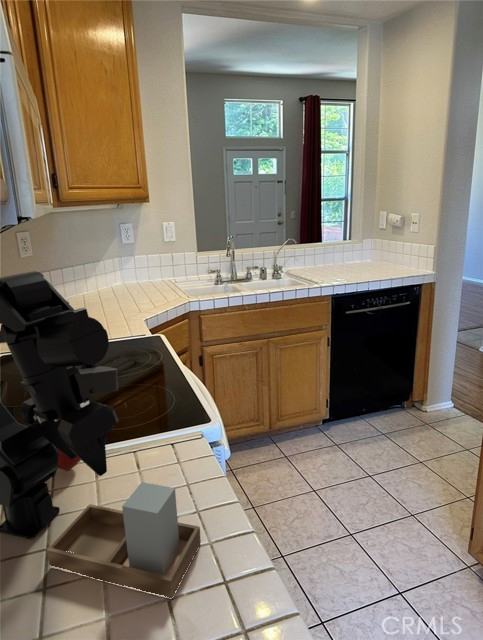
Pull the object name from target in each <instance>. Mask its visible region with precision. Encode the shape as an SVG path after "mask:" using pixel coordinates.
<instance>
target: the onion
mask: <svg viewBox="0 0 483 640" xmlns="http://www.w3.org/2000/svg"><path fill="white" fill-rule="evenodd" d="M56 448H57V447H56ZM57 449H58V448H57ZM58 452H59V460H58V466H57V469H60V470H63V471H67V472H68V471H70V470H72V469H73V468H74V467H75V466H77V465H78V463H80V461H81V459H80V458H79V457H78V456H77V457H75V458H74V459H70V458H69V457H68V456H66V455H65V454H64V453H63V452H62V451H60V450H59V449H58Z"/></svg>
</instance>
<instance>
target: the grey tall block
mask: <svg viewBox="0 0 483 640" xmlns="http://www.w3.org/2000/svg"><path fill="white" fill-rule="evenodd" d="M121 508H122V511H123V518H124V526H125V534H126V543H127V551H128V559H129V567H131V568H135V569H139V570H143V571H147V572H151V573H155V574H159V575H163V576H165V575H166V573H167V571H168V569H169V568H170V566H171V564H172V562H173V560H174V559H175V557H176V555H177V553H178V551H179V550H180V544H179V532H178V522H179V520H178V509H177V498H176V488H175V487H171V486H166V485H165V486H164V485H159V484H154V483H149V482H145V481H142V482H141V483H140V484H138V487H137V488H136V489H135V490H134V491H133V492H132V493H131V494H130V495H129V497H128V498H127V499H126V501H125V502H124V503H123V504H122V505H121Z"/></svg>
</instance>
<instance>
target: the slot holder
mask: <svg viewBox="0 0 483 640" xmlns="http://www.w3.org/2000/svg"><path fill="white" fill-rule="evenodd" d="M200 527H201V526H199V525H198V526H197V525H193V524H190V523H189V524H187V523H183V522H179V521H178V532H179V544H180V550H179V551H178V553H177V555H176V557H175V559H174V560H173V562H172V564H171V566H170V568H169V569H168V571H167V573H166V575H165V576H163V575H159V574H155V573H151V572H147V571H143V570H139V569H135V568H131V567H129V559H128V551H127V543H126V534H125V526H124V518H123V510H121V509H114V508H110V507H105V506H101V505H96V504H93V503H92V504H90V503H89V504H88V505H87V506H86V508H84V510H83V511H82V512H81V513H80V514H79V515H78V516H77V517H76V518H75V519H74V520H73V521H72V522H71V524H70V525H69V526H67V528H66V529H65V530H64V531H63V532H62V533H61V534H60V535H59V537H58V538H56V540H55V541H54V542H53V543H51V545H50V546H49V547H48V548H47V549H46V552H47V558H48V565H49V566H50V565H51V566H55V567H59V568H63V569H67V570H70V571H72V572H76V573H80V574H82V575H86V576H89V577H93V578H95V579H100V580H103V581H107V582H111V583H115V584H119V585H122V586H124V585H125V586H128V587H133V588H136V589H140V590H142V591H146V592H151V593H155V594H159V595H164V596H165V597H166V596H167V597H169V598H172V597H173V596H174V594H175V591H176V590H177V588H178V586H179V583H180V582H181V580H182V577H183V575H184V574H185V572H186V570H187V568H188V566H189V564H190V562H191V561H192V558H193V556H194V555H195V553H196V551H197V549H198V547H199V545H200V543H201V542H202V541H201V540H202V539H201V528H200ZM201 544H202V543H201ZM200 546H201V545H200ZM199 548H200V547H199ZM198 550H199V549H198ZM66 551H67V552H66ZM68 551H69V552H68ZM70 551H71V552H72V553H71V552H70ZM73 552H74V553H73ZM197 552H198V551H197ZM196 554H197V553H196ZM195 556H196V555H195ZM192 562H193V561H192ZM188 569H189V568H188ZM187 571H188V570H187ZM186 573H187V572H186ZM185 575H186V574H185ZM182 581H183V580H182ZM181 583H182V582H181ZM179 587H180V586H179ZM178 589H179V588H178ZM177 591H178V590H177ZM175 595H176V594H175ZM174 597H175V596H174Z"/></svg>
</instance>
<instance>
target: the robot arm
mask: <svg viewBox="0 0 483 640" xmlns="http://www.w3.org/2000/svg"><path fill="white" fill-rule="evenodd" d="M0 324H1V325H0V344H5V343H6V346H7V347H8V349H9V351H10V355H11V356H12V358H13V360H14V362H15V364H16V367H17V368H18V372H19V373H20V375H21V376H20V377H22V381H20V385H21V387H22V389H23V390H25V391H28V392H29V395H30V398H28V399H27V400H25V401H22V404H21V407H20V409H19V412H20V415H21V416H22V419H23V421H24V422H25V423H26V424H29V425H25V424H22V423H19V422H18V421H17V420H16V419H15V417H14V416H13V415H12V414H11V413H10V411H9V410H8V409H7V408H6V406H5V405H4V404H3V402H1V400H0V505H1V506H2V510H3V515H4V518H5V520H4V521H3V522H2V523H1V524H0V532H1V533H3V532H4V533H5V534H7V535H11V536H16V537H20V536H21V537H20V538H24V537H25V538H24V539H28V538H31V539H33V538H35V537H36V536H37V535H38V533H40V532H41V531H42V530H43V528H45V527H46V525H48V524H49V522H50V521H52V520H53V518H55V517H56V515H58V514H59V513H60V512H61V511H60V510H61V509H60V507H59V506H54V505H53V500H52V495H51V493H49V492H50V491H49V486H48V483H47V481H49V480H50V479H52V478H53V477H55V476H56V475H57V471H58V468H57V466H58V460H59V452H58V449H59V450H60V451H62V452H63V453H64V454H65V455H66V456H68V457H69V458H70V459H74V458H75V457H77V456H78V457H79V458H80V461H82V462H83V463H84V464H85V465H86V466H87V467H89V468H90V470H92V471H93V472H94V473H95V474H96V475H98V476H99V477H102V476H103V475H105V474H107V472H108V469H107V467H108V466H107V465H108V464H107V453H106V450H107V449H106V438H107V435H108V433H109V432H110V431H112V430H113V428H115V425H117V424H118V423H119V421H120V420H119V418H118V415H117V412H116V410H115V408H114V407H112V406H109V405H106V404H104V403H103V404H102V403H99V402H96V401H91V402H90V400H93V397H92V395H94V394H101V393H106V392H111V393H113V392H117V391H119V383H118V368H116V367H111V366H101V365H97V366H96V364H98V363H100V362H101V361H102V360H104V358H105V356H106V355H107V353H108V351H109V350H108V349H109V343H110V342H109V334H108V331H107V329H106V328H104V326H103V325H102V323H100V321H99V320H97V319H96V318H94V317H91V316H89V313H88V309H87V307H81V308H77V309H74V308H73V307H72V306H71V305H70V302H69V301H67V300H66V299H65V298H64V297H63V296H62V295H61V293H60V292H58V290H57V289H56V288H55V287H54V286H53V285H52V284H51V283H50V282H49V281H48V279H46V278H45V276H44V274H43V273H41V272H39V271H37V270H36V271H34V270H32V271H27V272H23V273H18V274H17V273H16V274H11V275H7V276H2V277H1V276H0ZM87 401H89V404H87V405H86V406H84V407H80V406H81V405H80V404H81V403H85V402H87ZM56 447H57V448H58V449H57V448H56ZM32 537H33V538H32Z"/></svg>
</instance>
